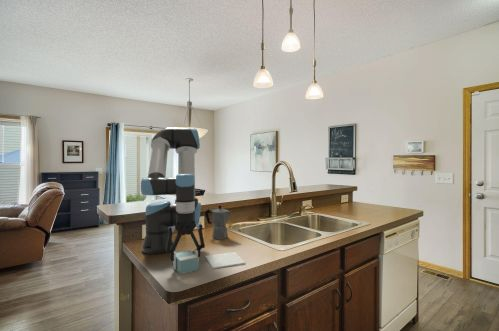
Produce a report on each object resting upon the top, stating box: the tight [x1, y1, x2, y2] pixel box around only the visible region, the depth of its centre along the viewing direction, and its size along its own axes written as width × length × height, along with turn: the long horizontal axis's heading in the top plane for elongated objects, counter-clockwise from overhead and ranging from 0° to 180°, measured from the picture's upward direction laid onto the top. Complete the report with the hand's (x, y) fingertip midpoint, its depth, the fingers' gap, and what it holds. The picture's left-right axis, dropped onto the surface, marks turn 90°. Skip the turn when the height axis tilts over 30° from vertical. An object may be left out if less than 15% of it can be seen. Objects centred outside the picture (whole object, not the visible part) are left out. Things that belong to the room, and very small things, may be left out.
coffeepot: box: [204, 205, 232, 240], centre depth 153 cm, size 15×9×18 cm, turn 82°
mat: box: [205, 251, 246, 270], centre depth 117 cm, size 14×14×1 cm
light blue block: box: [175, 250, 200, 275], centre depth 109 cm, size 10×8×5 cm
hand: (185, 266), depth 109 cm, fingers closed on light blue block, 8 cm apart
